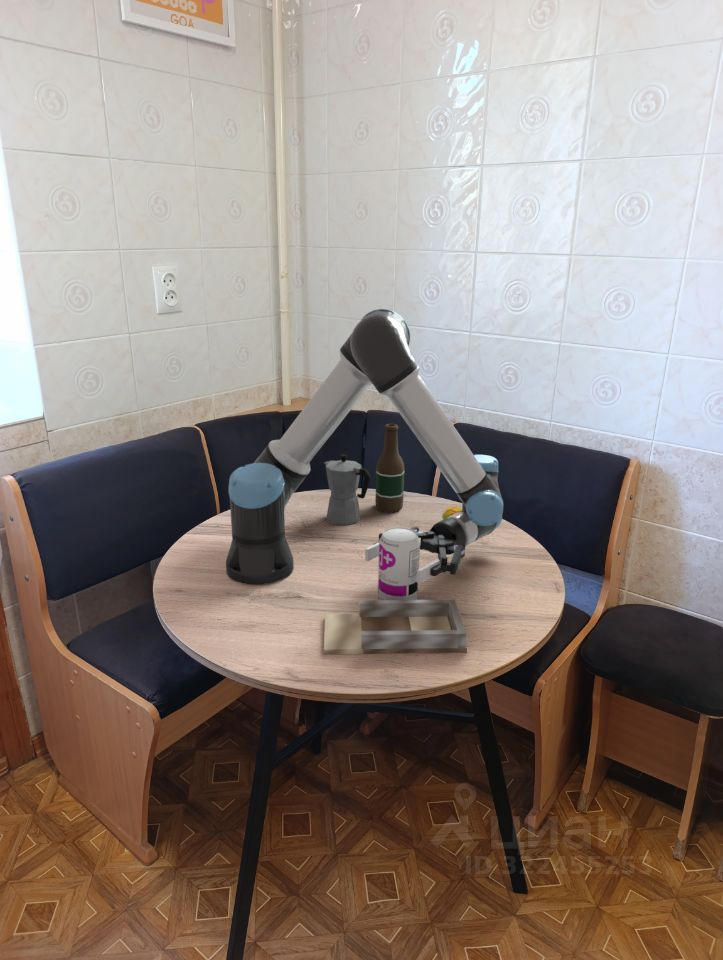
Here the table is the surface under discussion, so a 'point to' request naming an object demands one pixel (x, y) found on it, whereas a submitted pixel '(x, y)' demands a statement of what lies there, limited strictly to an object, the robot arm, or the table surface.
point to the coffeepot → (345, 490)
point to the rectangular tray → (397, 628)
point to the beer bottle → (390, 474)
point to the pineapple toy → (451, 512)
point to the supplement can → (398, 564)
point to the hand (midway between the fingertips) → (391, 565)
